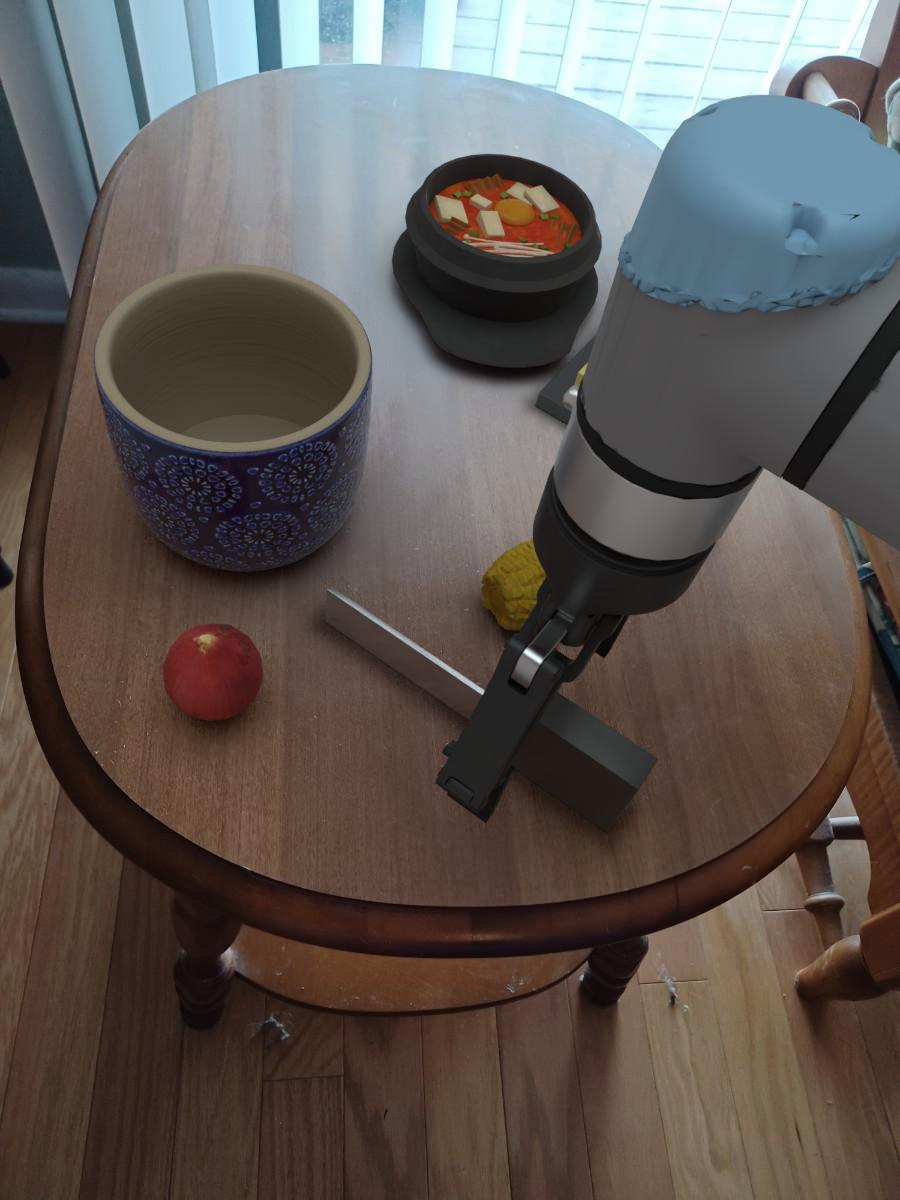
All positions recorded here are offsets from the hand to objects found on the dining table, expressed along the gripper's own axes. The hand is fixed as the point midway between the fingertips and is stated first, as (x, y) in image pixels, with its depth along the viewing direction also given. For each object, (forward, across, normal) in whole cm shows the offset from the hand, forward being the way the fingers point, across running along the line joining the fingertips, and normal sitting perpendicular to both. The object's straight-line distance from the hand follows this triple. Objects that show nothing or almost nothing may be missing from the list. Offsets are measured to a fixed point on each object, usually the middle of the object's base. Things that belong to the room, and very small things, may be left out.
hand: (533, 718), depth 57 cm
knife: (+5, 0, -4) cm, 6 cm away
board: (+5, -34, -11) cm, 36 cm away
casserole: (+5, -37, -27) cm, 46 cm away
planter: (+5, -4, -26) cm, 27 cm away
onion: (+5, +9, -17) cm, 20 cm away
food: (+5, -16, -3) cm, 17 cm away
